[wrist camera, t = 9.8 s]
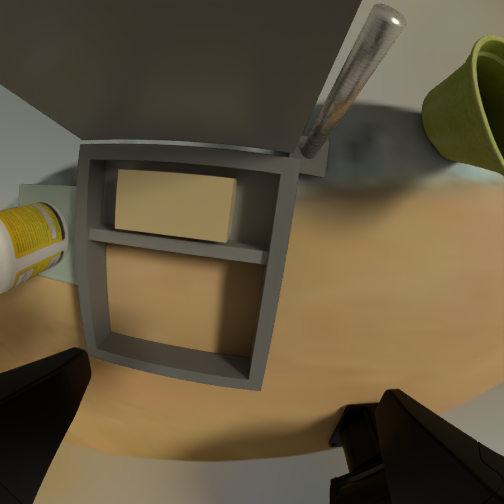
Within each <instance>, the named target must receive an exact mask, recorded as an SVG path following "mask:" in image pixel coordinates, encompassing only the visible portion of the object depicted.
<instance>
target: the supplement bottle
mask: <svg viewBox="0 0 504 504" xmlns="http://www.w3.org/2000/svg"><path fill="white" fill-rule="evenodd" d="M68 243H69V234H68V228H67V224H66V221H65V218H64V216H63V214H62V213H61V212H60V210H59V209H58V208H57V207H56V206H54V205H53V204H51V203H48V202H38V203H33V204H28V205H24V206H19V207H15V208H10V209H6V210H2V211H0V294H1V293H4V292H6V291H9V290H10V289H12V288H14V287H16V286H17V285H19V284H21V283H23V282H24V281H26V280H28V279H30V278H32V277H34V276H35V275H37V274H39V273H41V272H43V271H45V270H47V269H49V268H51V267H53V266H55V265H56V264H58V263H59V262H60V261H61V260H62V259H63V258H64V256H65V255H66V252H67V249H68Z"/></svg>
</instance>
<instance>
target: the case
mask: <svg viewBox="0 0 504 504" xmlns="http://www.w3.org/2000/svg"><path fill="white" fill-rule="evenodd" d="M300 163H301V159H296V158H289V157H283V156H276V155H269V154H262V153H254V152H246V151H237V150H228V149H218V148H207V147H194V146H178V145H158V144H81V145H80V151H79V160H78V171H77V185H76V207H75V244H76V266H77V280H78V291H79V301H80V309H81V317H82V324H83V330H84V336H85V342H86V348H87V353H88V355H89V356H92V357H95V358H98V359H101V360H105V361H108V362H111V363H115V364H118V365H122V366H126V367H129V368H133V369H137V370H141V371H145V372H149V373H154V374H158V375H162V376H167V377H172V378H177V379H182V380H187V381H192V382H198V383H204V384H210V385H217V386H223V387H231V388H238V389H247V390H256V391H261V387H262V382H263V377H264V373H265V368H266V363H267V358H268V353H269V348H270V343H271V338H272V332H273V327H274V322H275V317H276V311H277V306H278V300H279V295H280V289H281V284H282V278H283V272H284V266H285V261H286V255H287V249H288V242H289V236H290V230H291V224H292V217H293V211H294V204H295V198H296V191H297V184H298V177H299V170H300ZM106 242H108V243H114V244H121V245H128V246H135V247H142V248H149V249H156V250H163V251H170V252H177V253H184V254H191V255H198V256H206V257H213V258H220V259H228V260H235V261H242V262H250V263H257V264H265V266H264V272H263V279H262V285H261V292H260V298H259V305H258V311H257V318H256V324H255V330H254V336H253V343H252V349H251V355H250V358H247V357H239V356H232V355H225V354H218V353H211V352H205V351H199V350H193V349H187V348H182V347H177V346H171V345H166V344H161V343H157V342H152V341H147V340H143V339H138V338H134V337H130V336H126V335H122V334H118V333H114V332H111V329H110V319H109V307H108V294H107V274H106Z"/></svg>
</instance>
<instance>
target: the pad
mask: <svg viewBox="0 0 504 504" xmlns="http://www.w3.org/2000/svg"><path fill="white" fill-rule="evenodd" d="M38 202H48V203H51V204H53V205H54V206H56V207H57V208H58V209H59V210H60V212H61V213H62V214H63V216H64V218H65V221H66V224H67V228H68V234H69V243H68V249H67V252H66V255H65V256H64V258H63V259H62V260H61V261H60V262H59V263H58V264H56V265H55V266H53V267H51V268H49V269H47V270H45V271H43V272H41V273H39V274H37V275H40V276H44V277H48V278H52V279H56V280H59V281H63V282H67V283H72V284H76V285H78V280H77V266H76V244H75V207H76V186H68V185H35V184H21V185H20V187H19V206H24V205H28V204H33V203H38Z"/></svg>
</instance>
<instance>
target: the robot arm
mask: <svg viewBox="0 0 504 504" xmlns="http://www.w3.org/2000/svg"><path fill="white" fill-rule="evenodd" d="M90 379H91V367H90V362H89V357H88V353H87V352H86V351H85V350H83V349H80V348H77V347H74V348H71V349H68V350H65V351H62V352H60V353H57V354H54V355H51V356H49V357H46V358H43V359H40V360H37V361H35V362H32V363H29V364H26V365H23V366H20V367H17V368H14V369H11V370H9V371H6V372H3V373H0V504H33V502H34V499H35V497H36V495H37V492H38V490H39V488H40V486H41V483H42V481H43V479H44V477H45V475H46V473H47V470H48V468H49V466H50V464H51V462H52V460H53V458H54V456H55V454H56V452H57V450H58V448H59V446H60V444H61V442H62V440H63V438H64V436H65V434H66V432H67V430H68V428H69V426H70V425H71V423H72V421H73V419H74V417H75V415H76V413H77V410H78V408H79V405H80V403H81V400H82V398H83V395H84V393H85V391H86V388H87V386H88V384H89V381H90ZM329 446H330V447H343V449H344V453H345V457H346V461H347V465H348V469H349V473H348V474H345V475H343V476H340V477H338V478H337V477H336V478H333V479H331V486H330V504H504V456H502V455H500V454H498V453H496V452H494V451H492V450H491V449H489V448H488V447H486V446H484V445H483V444H481V443H480V442H477V441H476V440H475V439H473V438H472V437H470V436H469V435H467V434H466V433H464V432H462V431H461V430H459V429H458V428H456V427H455V426H453V425H452V424H450V423H449V422H447V421H446V420H444V419H443V418H441V417H440V416H438V415H437V414H435V413H434V412H432V411H431V410H429V409H428V408H426V407H425V406H423V405H422V404H420V403H419V402H417V401H416V400H414V399H413V398H411V397H410V396H408V395H407V394H405V393H404V392H403V391H401V390H400V389H388V390H386V391H385V392H384V394H383V396H382V398H381V400H380V402H379V404H365V405H350V406H348V407H346V409H345V411H344V413H343V415H342V417H341V419H340V421H339V423H338V425H337V427H336V429H335V431H334V433H333V435H332V437H331V439H330V441H329Z"/></svg>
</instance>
